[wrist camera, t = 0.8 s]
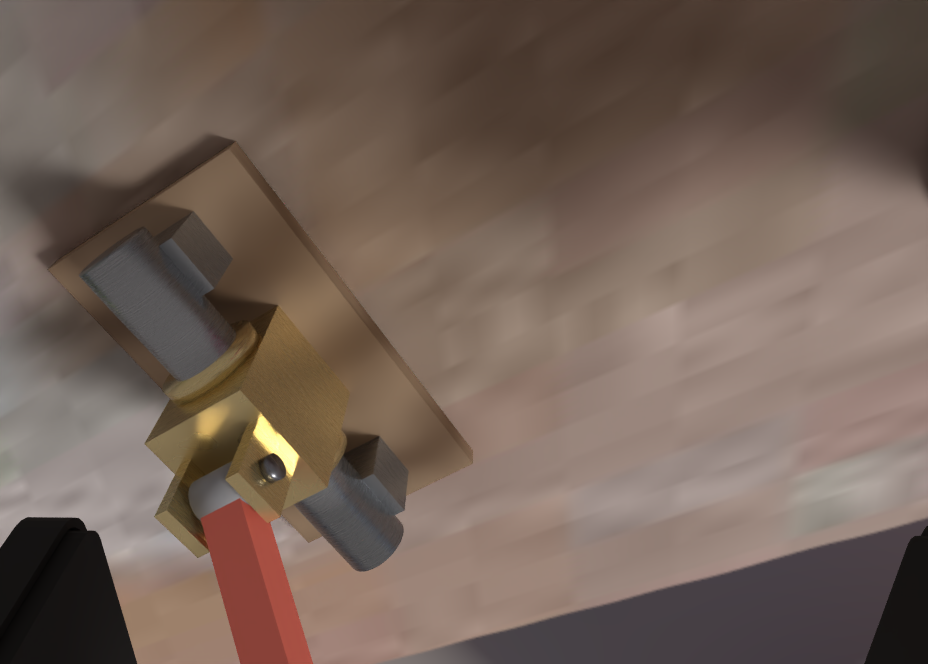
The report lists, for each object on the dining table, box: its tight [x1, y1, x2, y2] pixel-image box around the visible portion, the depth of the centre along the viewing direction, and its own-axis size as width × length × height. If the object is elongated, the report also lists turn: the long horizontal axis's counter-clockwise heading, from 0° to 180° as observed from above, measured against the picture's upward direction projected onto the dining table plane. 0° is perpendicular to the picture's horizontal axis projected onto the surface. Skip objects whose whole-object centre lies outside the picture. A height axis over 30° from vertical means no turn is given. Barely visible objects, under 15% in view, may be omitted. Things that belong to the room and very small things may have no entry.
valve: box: [79, 211, 409, 571], centre depth 39 cm, size 21×6×11 cm, turn 32°
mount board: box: [48, 141, 473, 543], centre depth 45 cm, size 22×12×1 cm, turn 32°
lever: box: [188, 461, 313, 664], centre depth 34 cm, size 16×3×2 cm
